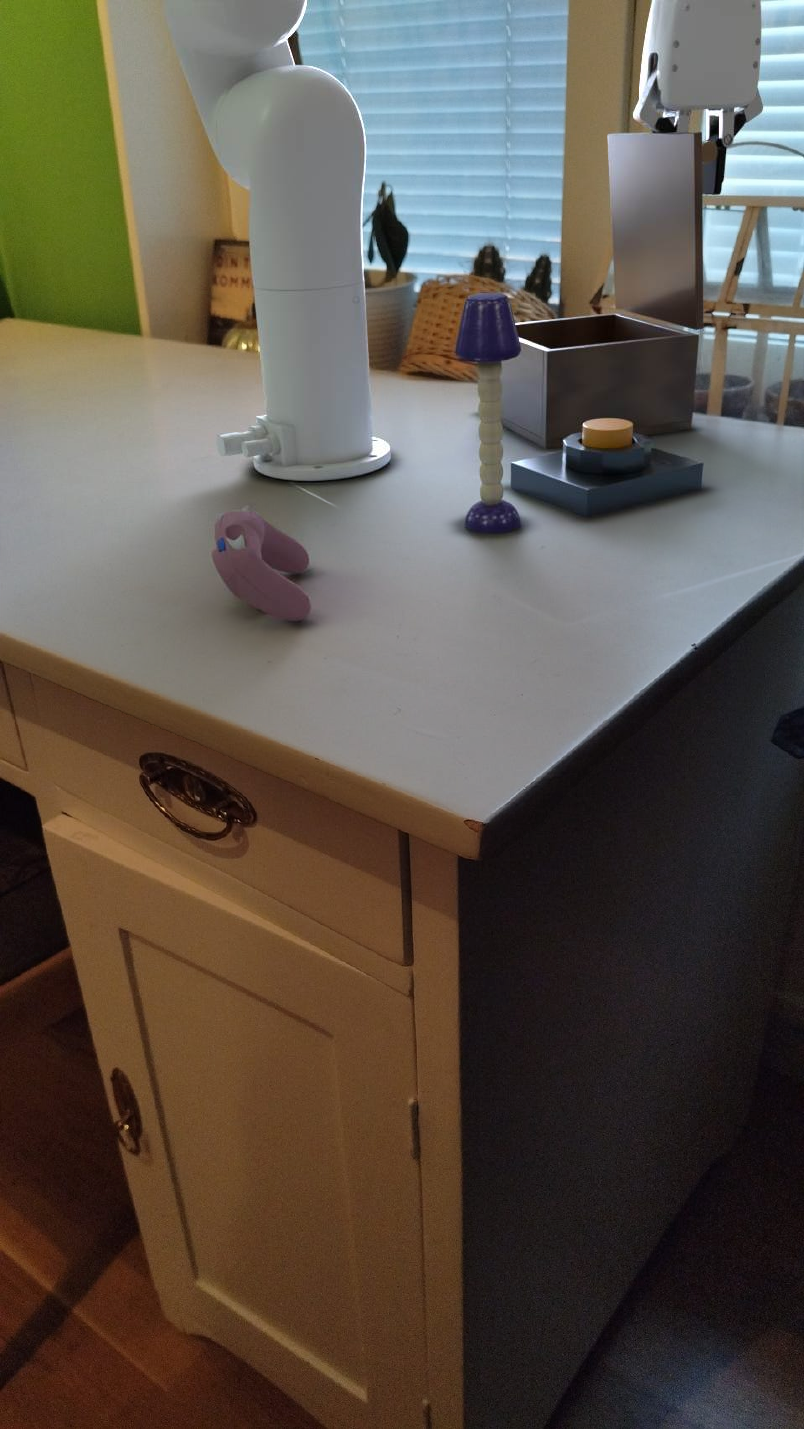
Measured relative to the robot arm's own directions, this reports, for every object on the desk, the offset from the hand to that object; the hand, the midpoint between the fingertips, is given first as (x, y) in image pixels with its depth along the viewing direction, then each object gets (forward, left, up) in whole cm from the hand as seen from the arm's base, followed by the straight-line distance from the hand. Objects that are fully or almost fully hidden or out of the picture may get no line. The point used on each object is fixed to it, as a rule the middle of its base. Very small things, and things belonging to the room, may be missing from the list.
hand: (692, 193), depth 105 cm
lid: (-4, +1, -3) cm, 5 cm away
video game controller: (-57, -22, -20) cm, 64 cm away
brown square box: (-11, +2, -20) cm, 23 cm away
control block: (-24, -17, -20) cm, 35 cm away
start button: (-24, -17, -17) cm, 33 cm away
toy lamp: (-37, -19, -20) cm, 46 cm away
